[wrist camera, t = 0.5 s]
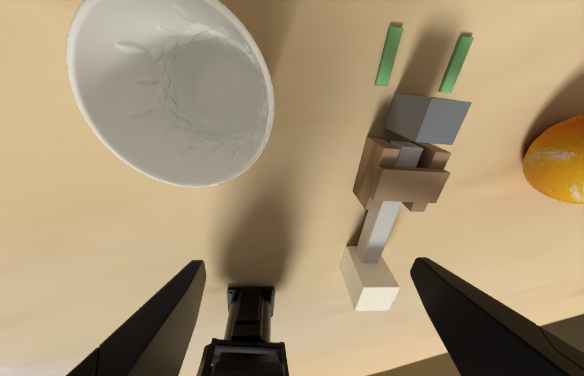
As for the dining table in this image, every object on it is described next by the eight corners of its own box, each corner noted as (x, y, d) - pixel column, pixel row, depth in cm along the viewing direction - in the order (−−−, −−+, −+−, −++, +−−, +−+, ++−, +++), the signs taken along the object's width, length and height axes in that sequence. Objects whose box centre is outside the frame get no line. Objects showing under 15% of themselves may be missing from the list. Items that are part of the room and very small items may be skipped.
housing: (407, 193, 24) (434, 216, 20) (348, 191, 23) (363, 214, 19) (470, 38, 17) (528, 26, 13) (389, 27, 16) (425, 11, 12)
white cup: (272, 32, 16) (270, -24, 7) (275, 136, 19) (277, 185, 11) (164, 30, 15) (13, -34, 6) (189, 137, 19) (115, 190, 10)
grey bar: (367, 267, 29) (388, 310, 24) (339, 267, 29) (354, 310, 23) (414, 140, 21) (463, 162, 15) (376, 137, 20) (412, 159, 15)
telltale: (413, 129, 20) (452, 145, 16) (384, 127, 20) (415, 142, 15) (425, 96, 19) (471, 102, 14) (394, 93, 18) (431, 98, 14)
